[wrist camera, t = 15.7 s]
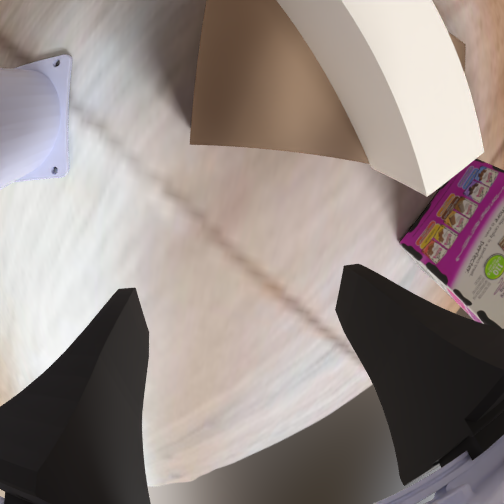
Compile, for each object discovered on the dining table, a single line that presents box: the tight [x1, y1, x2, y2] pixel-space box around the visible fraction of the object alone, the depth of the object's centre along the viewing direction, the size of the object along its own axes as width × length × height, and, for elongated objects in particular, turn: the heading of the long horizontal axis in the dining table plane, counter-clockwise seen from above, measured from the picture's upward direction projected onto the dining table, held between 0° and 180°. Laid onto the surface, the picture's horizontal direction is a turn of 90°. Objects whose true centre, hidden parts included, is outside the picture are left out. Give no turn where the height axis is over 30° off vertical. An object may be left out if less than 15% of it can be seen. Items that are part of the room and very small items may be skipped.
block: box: [276, 0, 484, 197], centre depth 8 cm, size 4×9×4 cm, turn 32°
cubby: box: [190, 0, 465, 164], centre depth 12 cm, size 14×9×6 cm, turn 83°
